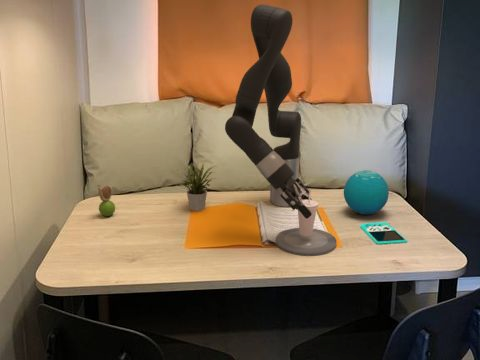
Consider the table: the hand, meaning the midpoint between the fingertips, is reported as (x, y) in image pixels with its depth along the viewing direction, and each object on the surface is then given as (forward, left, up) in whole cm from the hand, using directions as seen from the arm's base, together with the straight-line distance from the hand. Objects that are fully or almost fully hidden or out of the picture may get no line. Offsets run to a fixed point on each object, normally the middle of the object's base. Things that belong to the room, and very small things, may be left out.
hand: (312, 212), depth 162 cm
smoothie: (-1, -1, -7) cm, 7 cm away
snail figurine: (-59, -37, -10) cm, 70 cm away
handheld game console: (+9, +23, -11) cm, 27 cm away
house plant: (-45, -8, -10) cm, 47 cm away
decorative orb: (-6, +33, -10) cm, 35 cm away
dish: (-1, -1, -10) cm, 10 cm away
